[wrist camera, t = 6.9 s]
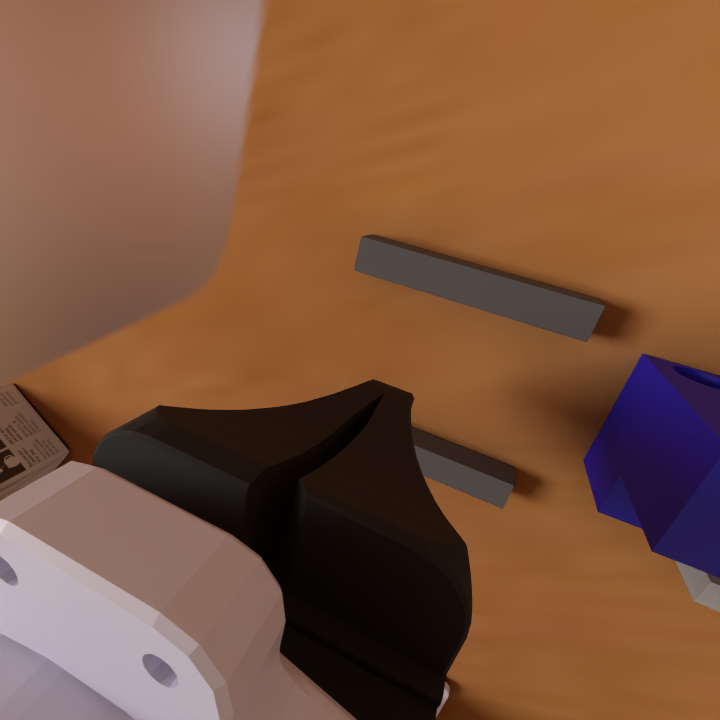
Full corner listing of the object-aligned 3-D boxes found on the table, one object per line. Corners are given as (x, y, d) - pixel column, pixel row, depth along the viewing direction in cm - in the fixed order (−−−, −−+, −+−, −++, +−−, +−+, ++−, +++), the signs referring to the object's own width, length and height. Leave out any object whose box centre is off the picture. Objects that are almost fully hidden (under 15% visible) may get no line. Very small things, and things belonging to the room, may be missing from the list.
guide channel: (503, 489, 16) (502, 508, 15) (330, 418, 18) (319, 431, 17) (598, 298, 13) (605, 306, 12) (372, 234, 15) (361, 236, 14)
